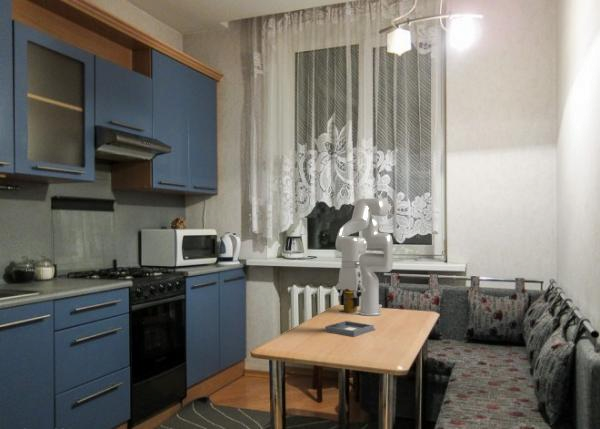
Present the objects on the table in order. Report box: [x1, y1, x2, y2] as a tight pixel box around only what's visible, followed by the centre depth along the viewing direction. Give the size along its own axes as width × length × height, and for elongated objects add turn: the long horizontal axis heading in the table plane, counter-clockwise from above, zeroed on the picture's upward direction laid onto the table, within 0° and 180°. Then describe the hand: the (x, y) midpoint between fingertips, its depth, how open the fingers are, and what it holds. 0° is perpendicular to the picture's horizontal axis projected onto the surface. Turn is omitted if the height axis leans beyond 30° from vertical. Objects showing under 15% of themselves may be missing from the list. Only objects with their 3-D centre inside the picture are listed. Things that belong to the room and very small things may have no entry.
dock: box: [323, 320, 376, 338], centre depth 220 cm, size 17×16×2 cm
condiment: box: [337, 289, 359, 314], centre depth 220 cm, size 7×8×12 cm
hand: (349, 305), depth 220 cm, fingers closed on condiment, 6 cm apart
